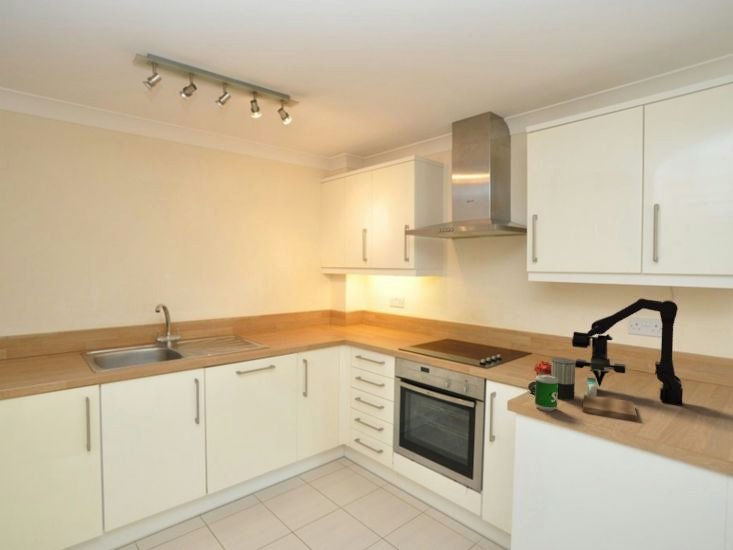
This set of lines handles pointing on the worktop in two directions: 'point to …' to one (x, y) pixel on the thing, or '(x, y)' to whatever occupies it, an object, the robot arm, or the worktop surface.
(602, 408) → the flat wooden board
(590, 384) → the folding leg
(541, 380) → the soda can
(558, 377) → the milk frother
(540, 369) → the dragon fruit
